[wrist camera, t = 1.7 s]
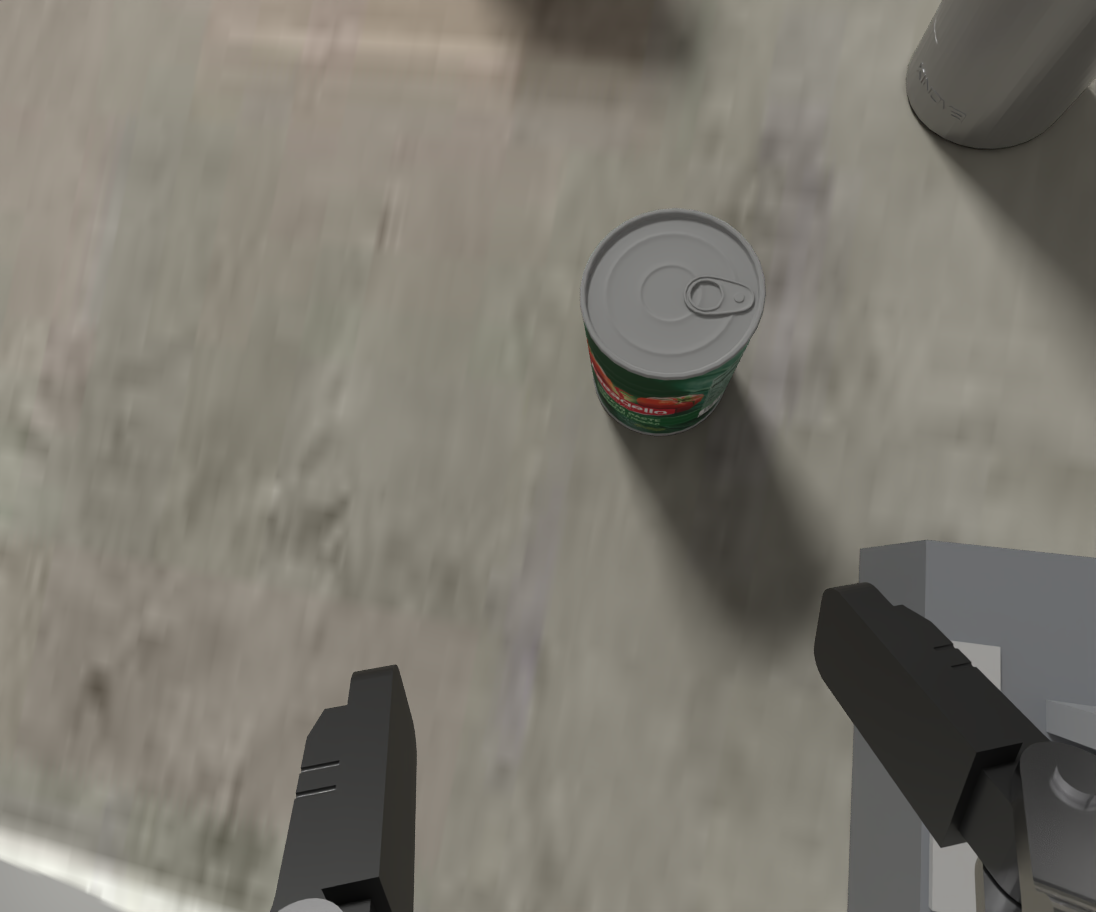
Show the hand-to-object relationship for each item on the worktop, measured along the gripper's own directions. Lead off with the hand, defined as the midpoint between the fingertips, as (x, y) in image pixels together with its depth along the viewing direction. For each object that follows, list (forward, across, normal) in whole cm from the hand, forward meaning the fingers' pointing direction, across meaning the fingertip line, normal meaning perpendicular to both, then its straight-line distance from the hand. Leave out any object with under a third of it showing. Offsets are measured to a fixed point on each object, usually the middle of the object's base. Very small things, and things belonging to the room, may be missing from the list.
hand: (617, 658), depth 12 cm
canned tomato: (+26, -9, +5) cm, 28 cm away
